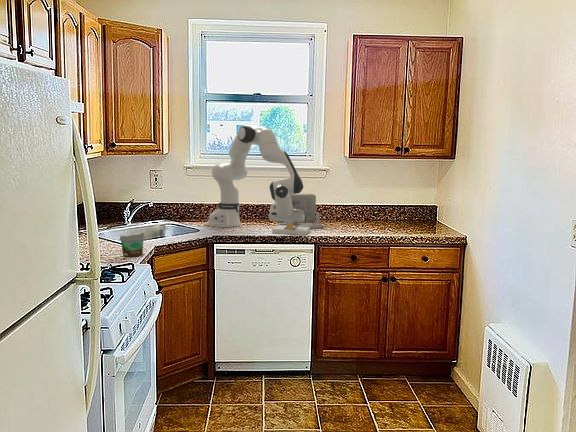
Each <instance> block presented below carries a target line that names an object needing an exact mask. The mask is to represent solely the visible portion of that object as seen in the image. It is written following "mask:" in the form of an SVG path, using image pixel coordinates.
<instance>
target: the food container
mask: <svg viewBox="0 0 576 432" xmlns="http://www.w3.org/2000/svg"><path fill="white" fill-rule="evenodd" d="M145 239H146V237H145V233H143V232H141V234H131V235H128V236H127V235H125V236H124V235H120V237H119V241H121V242H120V244H121V252H122V257H123V258H139V257H142V256H143V251H144V250H143V249H144V240H145Z"/></svg>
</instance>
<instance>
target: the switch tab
mask: <svg viewBox="0 0 576 432" xmlns="http://www.w3.org/2000/svg"><path fill="white" fill-rule="evenodd" d="M286 226H287V229H293V228H294V221H292V222H291V225H286Z"/></svg>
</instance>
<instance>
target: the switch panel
mask: <svg viewBox="0 0 576 432" xmlns="http://www.w3.org/2000/svg"><path fill="white" fill-rule="evenodd" d="M271 230H272V231H271V232H272V234H281V235H295V236H298V235H299V236H300V235H301V236H306V235H308V233H309V232H310V231H311V229H310V227H302V226H298V225H296V226H294V228H293V229H287V225H280V224H277V225H276V226H274V227H273V228H272V229H271Z"/></svg>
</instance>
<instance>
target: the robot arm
mask: <svg viewBox="0 0 576 432" xmlns="http://www.w3.org/2000/svg"><path fill="white" fill-rule="evenodd" d="M237 131H238V132H237V133H236V135H235V137H234V140H233V141H232V143H231V146H230V149H229V150H228V155H229V158H230V162H224V163H222V162H221V163H217V164H215V165H214V166H212V168H211V169H212V170H211V175H212V178H213V179H214V180H215V181H216V182H217V184H218V187H219V189H220V202H219V203H217V209H215V210H214V211H213V212H211V213H210V214H209V215H208V221H205V222H204V225H205V226H208V227H219V228H230V227H232V228H233V227H238V226H241V220H240V203H239V198H240V197H239V190H238V188H237V187H236V186H235V185H234V181H240V180H242V179H245V178H246V177H247V175H248V167H247V166H246V160H247V157H248V154H249V152H250V150H251V147H252V146H258V149H259V152H260V155H261V158H262V159H263V160H264V161H266V162H268V163H274V164H280V165H281V164H282V165H284V166H285V168H286V169H287V172H288V173H289V176H288V177H285V178H279V179H277V180H273V181H271V183H270V184H269V191H270V197H271V199H272V200H273V201H275V202H276V203H275V202H274V203H271V204H270V207H269V213H268V219H269V220H270V221H275V220H276V221H283V222H284V223H283V224H287V225H291V222H292V221H294V222H303V221H304V219H305V215H304V211H302V210H300V209H293V205H292V202H291V201H292V199H291V194H301V192H302V191H303V189H304V183H303V180H302V178H301V177H300V175H299V174H298V172H297V170H296V168H295V167H296V166H295V165H294V164H293V162H292V160H291V158H290V156H289V154H288V152H287V151H284V150H282V149H281V148H280V146H279V143H278V140H277V138H276V135H275V133H274V131H273V130H272V129H270V128H268V127H263V126H260V125H249V124H244V125H241V126H240V127H239V129H238V130H237ZM276 221H275V222H276ZM287 225H286V226H287Z"/></svg>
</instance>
